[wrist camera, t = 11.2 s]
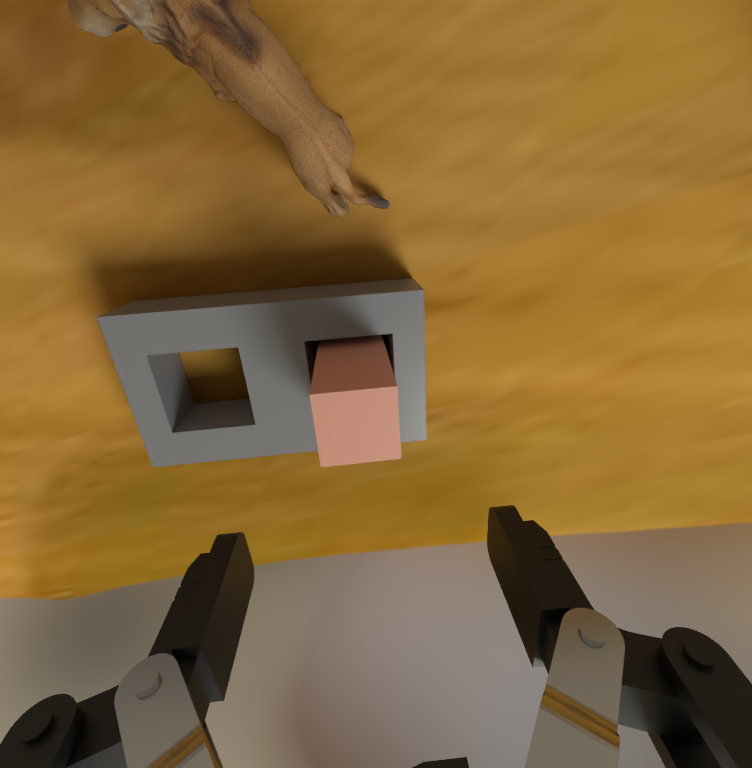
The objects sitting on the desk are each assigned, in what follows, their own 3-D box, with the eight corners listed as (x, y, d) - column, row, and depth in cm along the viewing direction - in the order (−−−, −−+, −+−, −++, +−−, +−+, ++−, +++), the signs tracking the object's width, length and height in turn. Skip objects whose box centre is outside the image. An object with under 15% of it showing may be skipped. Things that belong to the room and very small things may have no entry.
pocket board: (412, 277, 26) (424, 289, 22) (416, 411, 30) (426, 439, 26) (132, 300, 25) (96, 317, 21) (176, 434, 29) (153, 467, 25)
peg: (378, 325, 27) (397, 385, 18) (382, 378, 29) (401, 458, 19) (320, 330, 27) (309, 394, 18) (327, 383, 28) (320, 467, 19)
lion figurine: (132, 61, 20) (-12, -38, 12) (179, -50, 19) (50, -251, 10) (363, 241, 25) (374, 259, 16) (416, 164, 23) (457, 141, 15)
